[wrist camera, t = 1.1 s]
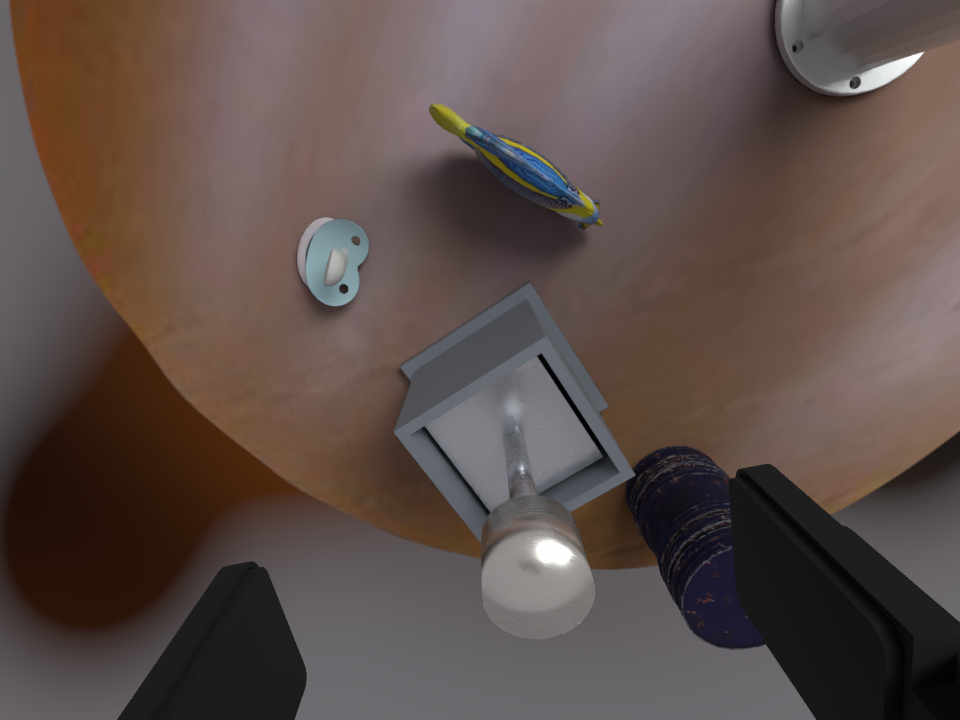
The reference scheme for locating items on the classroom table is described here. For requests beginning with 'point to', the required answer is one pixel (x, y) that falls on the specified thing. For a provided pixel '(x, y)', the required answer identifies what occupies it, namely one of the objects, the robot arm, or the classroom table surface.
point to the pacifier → (331, 259)
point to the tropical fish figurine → (522, 169)
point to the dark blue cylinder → (692, 541)
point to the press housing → (479, 363)
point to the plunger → (524, 499)
